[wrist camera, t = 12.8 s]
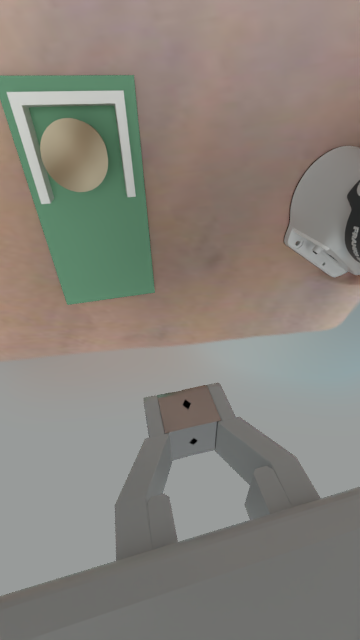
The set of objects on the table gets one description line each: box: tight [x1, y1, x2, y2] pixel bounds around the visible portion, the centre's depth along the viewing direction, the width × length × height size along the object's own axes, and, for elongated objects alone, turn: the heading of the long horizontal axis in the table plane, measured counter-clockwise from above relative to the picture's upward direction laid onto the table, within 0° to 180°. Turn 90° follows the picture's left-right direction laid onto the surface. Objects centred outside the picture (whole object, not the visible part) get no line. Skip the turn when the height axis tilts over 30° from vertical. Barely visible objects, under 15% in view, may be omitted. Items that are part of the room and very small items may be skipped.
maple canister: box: [40, 118, 108, 192], centre depth 29 cm, size 6×6×8 cm
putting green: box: [0, 75, 155, 305], centre depth 35 cm, size 27×14×4 cm, turn 2°
